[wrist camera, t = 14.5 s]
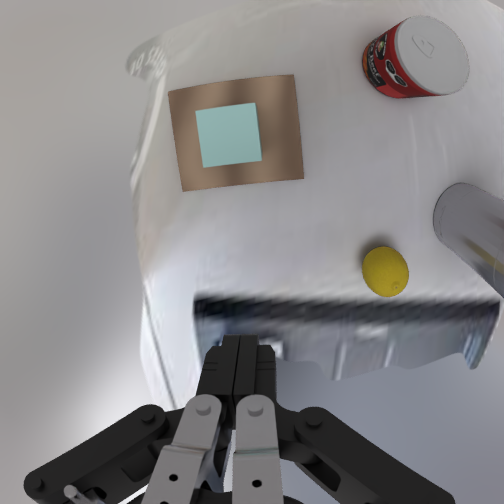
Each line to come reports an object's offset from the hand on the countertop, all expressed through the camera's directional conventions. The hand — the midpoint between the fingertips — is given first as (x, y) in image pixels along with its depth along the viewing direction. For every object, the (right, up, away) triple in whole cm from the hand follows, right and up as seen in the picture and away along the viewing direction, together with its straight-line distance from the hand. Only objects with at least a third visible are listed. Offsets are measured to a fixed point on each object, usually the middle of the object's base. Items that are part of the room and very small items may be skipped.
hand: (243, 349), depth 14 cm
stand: (-1, +18, +20) cm, 27 cm away
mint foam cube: (-1, +17, +18) cm, 25 cm away
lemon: (+16, +4, +26) cm, 31 cm away
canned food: (+17, +26, +16) cm, 35 cm away
